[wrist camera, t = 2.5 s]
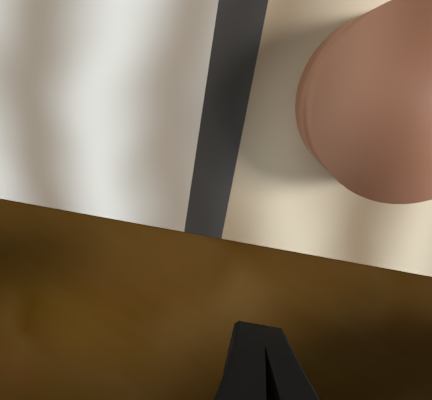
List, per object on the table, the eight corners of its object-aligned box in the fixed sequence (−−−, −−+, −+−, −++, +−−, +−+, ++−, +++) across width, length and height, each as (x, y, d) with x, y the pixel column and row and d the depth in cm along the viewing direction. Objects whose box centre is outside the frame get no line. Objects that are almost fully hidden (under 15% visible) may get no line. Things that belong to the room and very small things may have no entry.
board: (684, -73, 12) (721, -86, 11) (487, 278, 18) (500, 289, 17) (-121, -220, 12) (-151, -245, 11) (-61, 178, 18) (-78, 184, 17)
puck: (492, 27, 13) (578, 9, 10) (422, 189, 15) (472, 219, 12) (320, -5, 13) (348, -33, 10) (278, 163, 15) (290, 186, 12)
